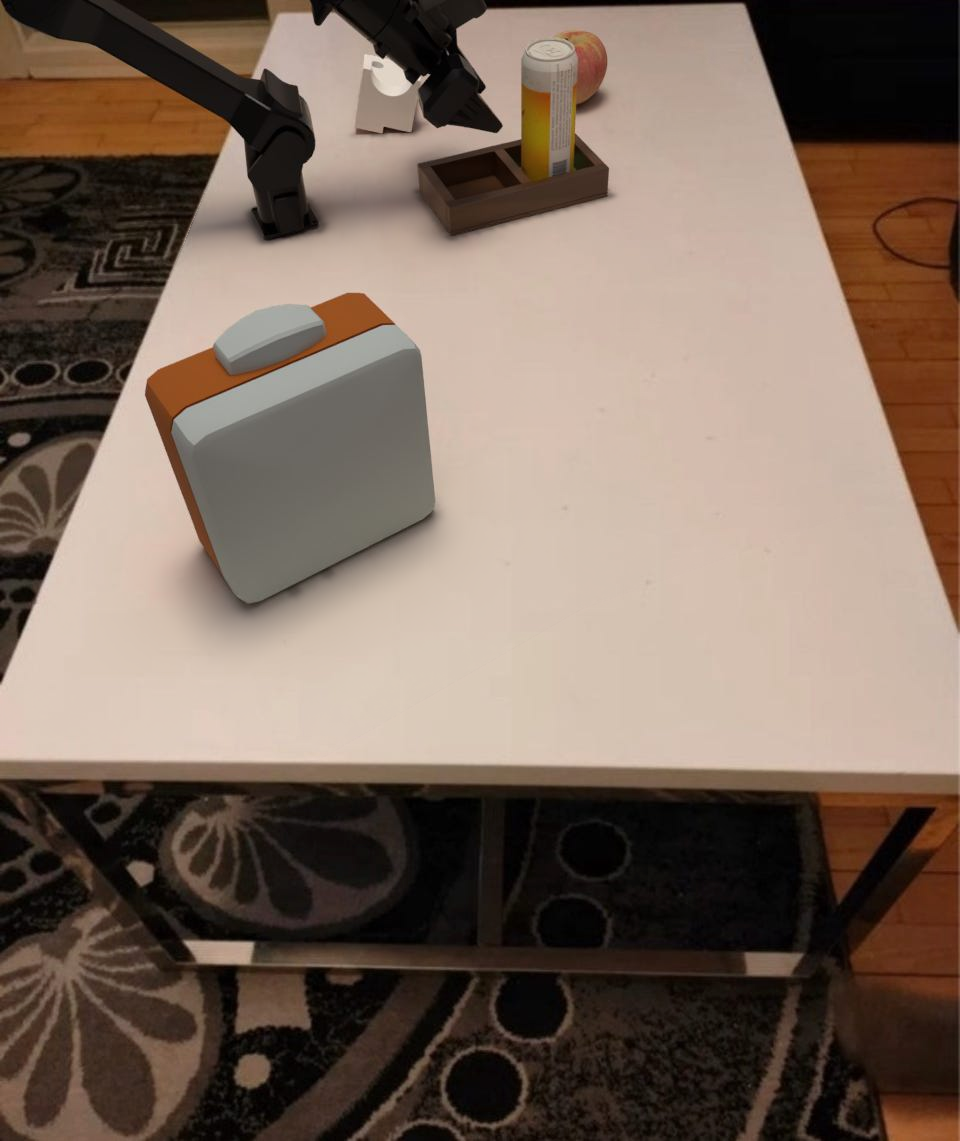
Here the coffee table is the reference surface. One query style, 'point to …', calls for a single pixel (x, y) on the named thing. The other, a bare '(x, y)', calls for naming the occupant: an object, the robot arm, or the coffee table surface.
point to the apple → (587, 61)
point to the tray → (504, 186)
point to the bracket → (385, 96)
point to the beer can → (548, 107)
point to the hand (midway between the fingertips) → (491, 109)
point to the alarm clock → (297, 439)
